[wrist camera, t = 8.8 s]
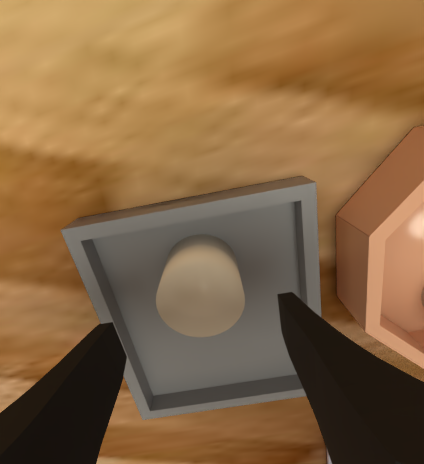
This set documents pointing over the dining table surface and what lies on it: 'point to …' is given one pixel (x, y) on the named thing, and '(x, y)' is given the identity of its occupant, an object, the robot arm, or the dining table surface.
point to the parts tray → (253, 281)
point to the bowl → (387, 250)
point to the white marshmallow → (422, 297)
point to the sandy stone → (200, 287)
